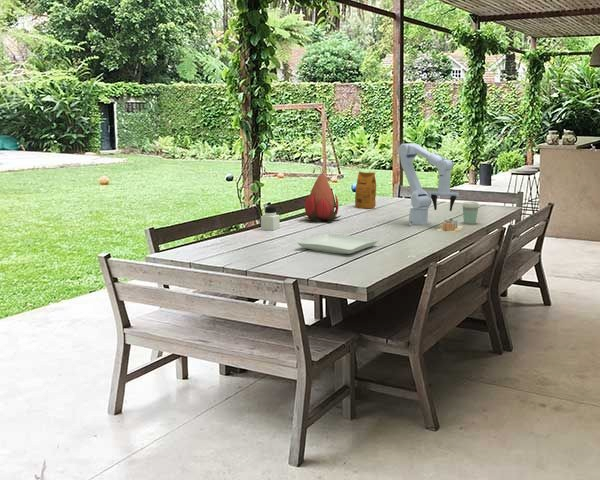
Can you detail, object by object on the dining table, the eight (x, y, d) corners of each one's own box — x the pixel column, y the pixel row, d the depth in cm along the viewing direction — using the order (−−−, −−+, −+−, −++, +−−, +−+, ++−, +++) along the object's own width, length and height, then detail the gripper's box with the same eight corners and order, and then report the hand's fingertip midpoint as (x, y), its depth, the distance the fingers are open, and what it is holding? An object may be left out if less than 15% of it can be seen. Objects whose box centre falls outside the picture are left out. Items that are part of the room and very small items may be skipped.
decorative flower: (321, 225, 367) (321, 168, 362) (292, 219, 384) (292, 164, 379) (350, 220, 382) (351, 165, 376) (321, 215, 399) (322, 162, 393)
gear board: (435, 232, 348) (436, 223, 347) (441, 226, 364) (442, 218, 363) (458, 234, 344) (458, 225, 343) (463, 227, 360) (463, 219, 359)
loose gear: (441, 230, 348) (442, 223, 347) (443, 228, 353) (444, 221, 352) (453, 231, 346) (454, 224, 345) (455, 229, 351) (455, 222, 350)
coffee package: (360, 205, 436) (360, 170, 431) (377, 207, 429) (378, 171, 425) (352, 207, 427) (352, 171, 423) (370, 209, 421) (371, 173, 416)
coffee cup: (478, 227, 363) (479, 204, 361) (461, 226, 365) (462, 203, 362) (477, 224, 371) (478, 201, 369) (461, 223, 373) (462, 201, 370)
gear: (443, 228, 354) (443, 219, 354) (445, 225, 360) (445, 217, 359) (456, 228, 352) (456, 220, 351) (458, 226, 358) (458, 218, 357)
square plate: (350, 257, 293) (351, 248, 292) (295, 250, 307) (295, 241, 306) (379, 246, 315) (379, 238, 314) (326, 240, 329) (326, 232, 328)
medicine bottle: (279, 228, 357) (279, 205, 355) (273, 230, 351) (273, 207, 348) (267, 227, 360) (267, 204, 358) (260, 229, 354) (260, 206, 351)
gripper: (428, 183, 350) (427, 210, 353) (457, 185, 345) (456, 212, 348) (431, 182, 357) (429, 208, 360) (459, 183, 352) (458, 210, 354)
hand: (443, 210), depth 354 cm, fingers open, 7 cm apart
